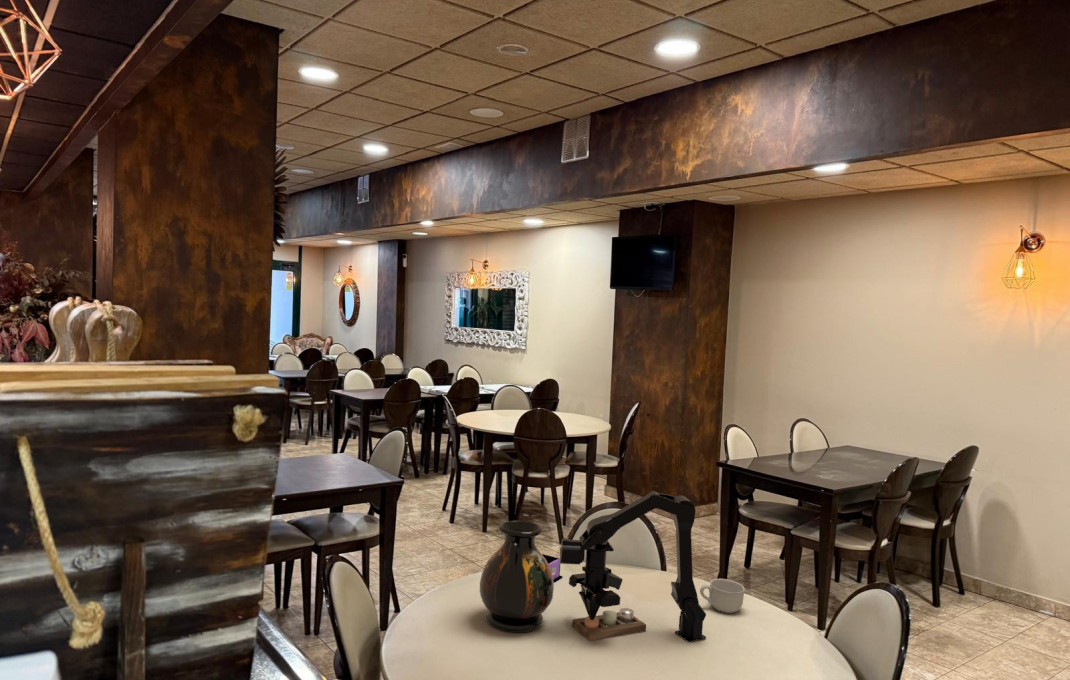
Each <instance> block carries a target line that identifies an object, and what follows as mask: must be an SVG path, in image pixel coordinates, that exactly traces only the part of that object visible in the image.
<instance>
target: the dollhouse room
mask: <svg viewBox="0 0 1070 680" xmlns="http://www.w3.org/2000/svg"><path fill="white" fill-rule="evenodd" d="M541 554H542V555H543V556H544V558H545V559H546V561H547V562H548V564H549V566H550V569H551V571H552V575H553V582H554V584H555V583H556V582H558V581H560V580H562V579H563V575H560V574H561V573H560V572H561V564H560V557H555V556H551V555H548V554H543V553H541Z"/></svg>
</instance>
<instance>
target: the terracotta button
mask: <svg viewBox="0 0 1070 680" xmlns="http://www.w3.org/2000/svg"><path fill="white" fill-rule="evenodd" d="M584 618H585V624H584V626H585V627H586V628H587V629H595V628H598V626H599V619H598V618H597V617H595V619H594V620H591V619H590V618H589V616H585V617H584Z"/></svg>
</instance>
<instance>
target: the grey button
mask: <svg viewBox="0 0 1070 680" xmlns="http://www.w3.org/2000/svg"><path fill="white" fill-rule="evenodd" d="M619 612H620V619H619V621H621V622H622V623H624V624H626V623H632V622H633V616H634V613H635V611H634V609H632V608H628V607H622V608H620V610H619ZM634 617H635V616H634Z"/></svg>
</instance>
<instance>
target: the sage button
mask: <svg viewBox="0 0 1070 680" xmlns="http://www.w3.org/2000/svg"><path fill="white" fill-rule="evenodd" d="M617 613H618V612H616V611H613V610H604V611H602V615H603V617H602V624H604V625H605V626H606V627H607V626H613V625H616V617H617Z"/></svg>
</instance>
